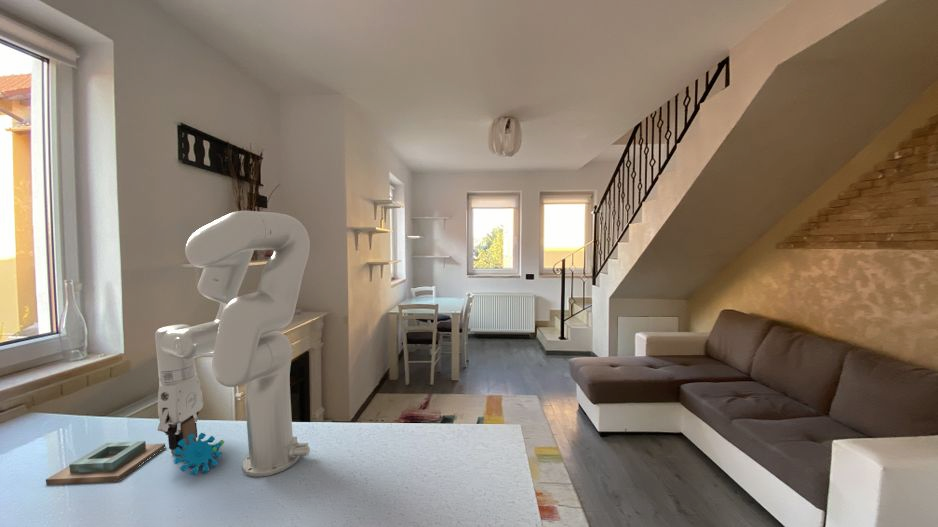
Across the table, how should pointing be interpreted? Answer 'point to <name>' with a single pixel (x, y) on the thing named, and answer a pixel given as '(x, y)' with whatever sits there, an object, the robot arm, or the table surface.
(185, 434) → the wooden block
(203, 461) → the gear
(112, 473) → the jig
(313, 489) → the table surface
